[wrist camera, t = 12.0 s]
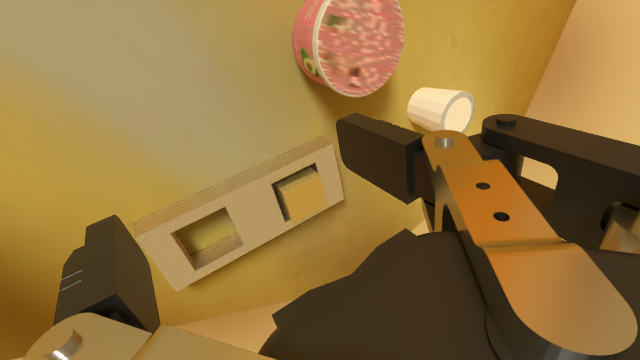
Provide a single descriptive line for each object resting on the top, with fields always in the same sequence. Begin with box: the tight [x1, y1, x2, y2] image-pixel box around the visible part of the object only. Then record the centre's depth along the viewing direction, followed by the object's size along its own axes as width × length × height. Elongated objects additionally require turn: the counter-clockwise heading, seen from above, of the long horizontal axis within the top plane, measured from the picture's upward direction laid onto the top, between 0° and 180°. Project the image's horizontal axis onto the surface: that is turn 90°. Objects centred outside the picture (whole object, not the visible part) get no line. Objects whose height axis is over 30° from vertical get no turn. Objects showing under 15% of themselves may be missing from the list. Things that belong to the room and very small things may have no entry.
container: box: [292, 0, 404, 97], centre depth 33 cm, size 10×10×8 cm
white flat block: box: [134, 137, 344, 292], centre depth 39 cm, size 24×9×3 cm, turn 104°
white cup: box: [407, 87, 475, 133], centre depth 46 cm, size 7×7×7 cm
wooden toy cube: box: [271, 166, 327, 224], centre depth 40 cm, size 5×5×5 cm
